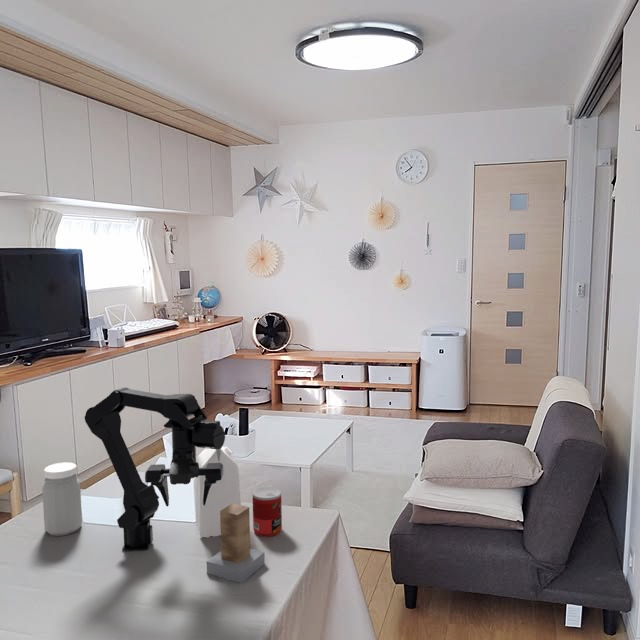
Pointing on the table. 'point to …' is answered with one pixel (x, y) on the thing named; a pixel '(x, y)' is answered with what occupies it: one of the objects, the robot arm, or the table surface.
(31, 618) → the table surface
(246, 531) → the walnut block
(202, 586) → the table surface
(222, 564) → the plate
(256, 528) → the canned food
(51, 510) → the jar
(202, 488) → the milk
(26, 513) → the table surface
